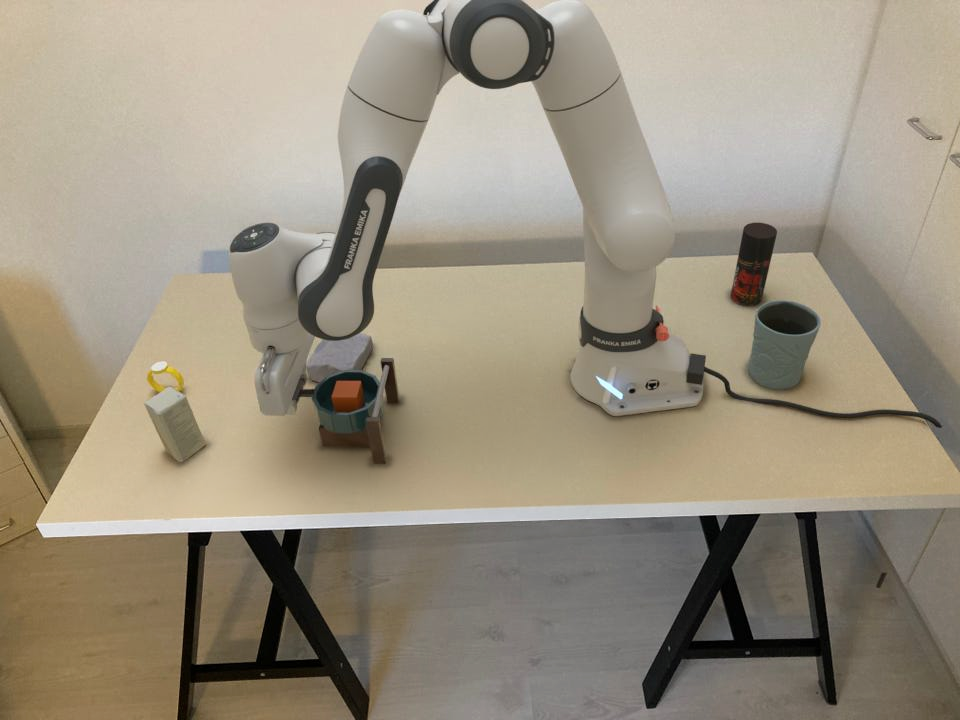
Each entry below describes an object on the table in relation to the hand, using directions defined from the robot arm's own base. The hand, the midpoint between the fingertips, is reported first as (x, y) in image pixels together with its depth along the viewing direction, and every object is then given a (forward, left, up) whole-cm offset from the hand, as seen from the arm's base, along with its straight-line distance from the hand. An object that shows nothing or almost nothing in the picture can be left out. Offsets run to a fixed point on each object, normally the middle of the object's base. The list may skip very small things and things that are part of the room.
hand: (296, 396), depth 123 cm
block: (-8, 0, -2) cm, 9 cm away
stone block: (-2, -17, -7) cm, 19 cm away
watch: (+27, -9, -7) cm, 29 cm away
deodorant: (-79, -38, -7) cm, 88 cm away
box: (+19, +5, -7) cm, 21 cm away
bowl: (-7, 0, -3) cm, 7 cm away
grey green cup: (-79, -15, -7) cm, 81 cm away
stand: (-8, 0, -7) cm, 11 cm away
